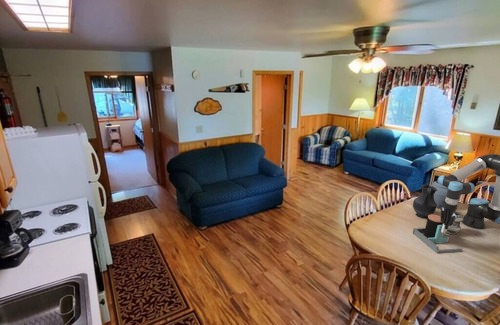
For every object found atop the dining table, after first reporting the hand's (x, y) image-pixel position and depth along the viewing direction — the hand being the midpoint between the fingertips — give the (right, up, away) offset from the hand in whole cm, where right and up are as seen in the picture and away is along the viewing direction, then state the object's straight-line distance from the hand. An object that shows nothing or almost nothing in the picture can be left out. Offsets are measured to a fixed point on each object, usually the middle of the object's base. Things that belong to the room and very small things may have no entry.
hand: (443, 231), depth 197 cm
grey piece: (-1, -9, +8) cm, 12 cm away
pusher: (0, -10, +6) cm, 12 cm away
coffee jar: (-1, -8, +12) cm, 15 cm away
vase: (+38, +9, +62) cm, 73 cm away
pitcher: (+11, +2, +43) cm, 44 cm away
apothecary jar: (+19, -6, +20) cm, 28 cm away
